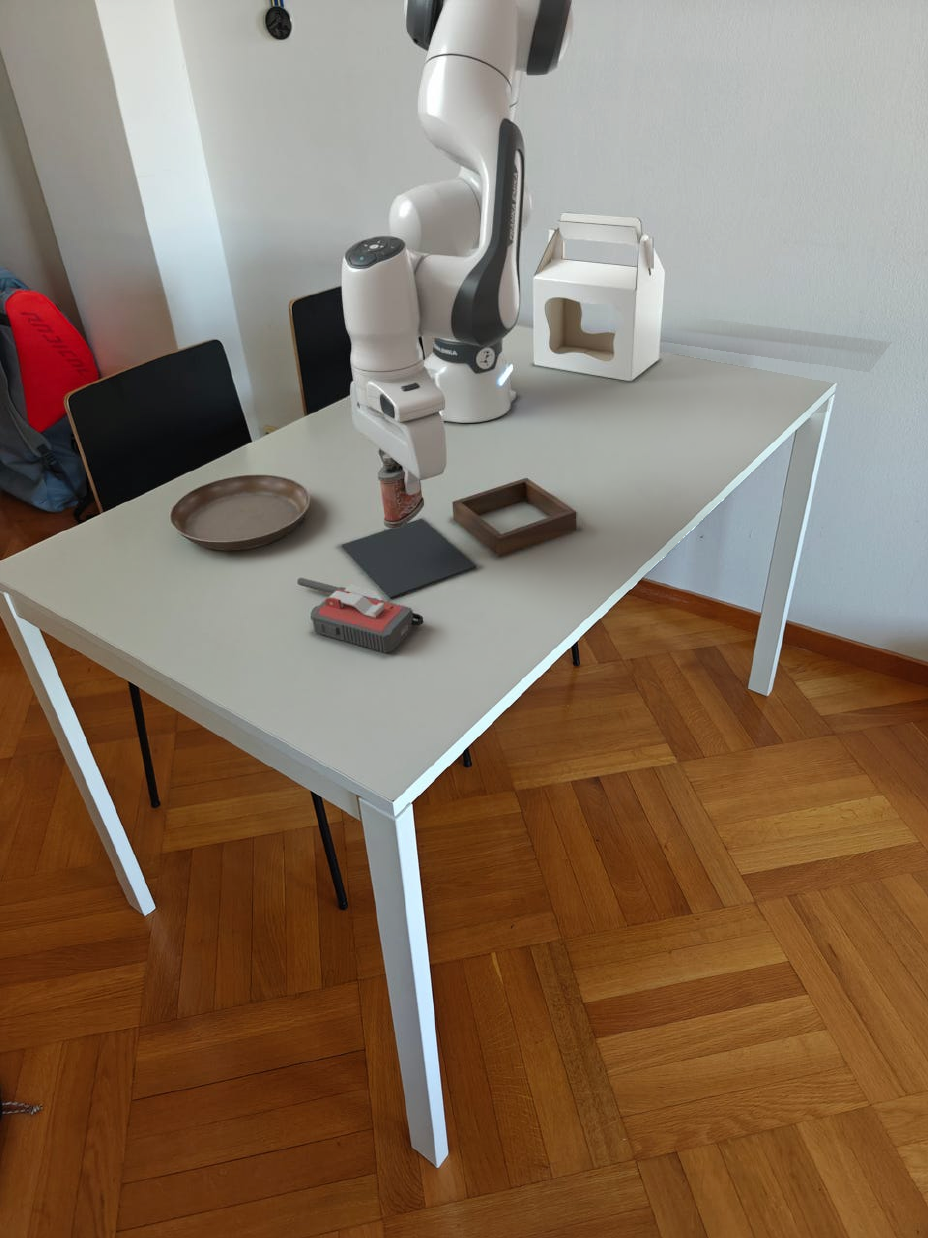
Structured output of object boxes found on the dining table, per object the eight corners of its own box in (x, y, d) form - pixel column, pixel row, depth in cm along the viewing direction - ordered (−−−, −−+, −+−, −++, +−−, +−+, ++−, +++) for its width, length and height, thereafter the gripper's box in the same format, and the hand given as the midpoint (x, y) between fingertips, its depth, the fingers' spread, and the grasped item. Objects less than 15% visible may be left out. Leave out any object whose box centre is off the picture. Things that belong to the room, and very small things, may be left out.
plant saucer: (335, 499, 139) (332, 480, 137) (271, 568, 123) (266, 548, 121) (222, 485, 145) (217, 467, 143) (146, 550, 129) (140, 530, 127)
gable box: (532, 364, 182) (530, 218, 165) (563, 345, 190) (564, 203, 174) (632, 382, 171) (640, 227, 155) (660, 360, 180) (671, 211, 163)
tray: (453, 519, 131) (452, 501, 130) (526, 495, 136) (526, 477, 135) (499, 557, 122) (498, 538, 120) (576, 529, 127) (577, 511, 125)
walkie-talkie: (433, 619, 111) (304, 584, 119) (431, 590, 109) (299, 557, 117) (397, 659, 105) (263, 620, 113) (393, 629, 102) (257, 591, 110)
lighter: (400, 530, 116) (392, 460, 110) (378, 526, 117) (369, 456, 112) (429, 502, 122) (423, 435, 116) (408, 498, 123) (400, 431, 117)
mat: (341, 547, 127) (341, 544, 127) (421, 520, 132) (421, 518, 131) (390, 599, 115) (390, 596, 115) (476, 568, 120) (476, 565, 120)
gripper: (332, 364, 115) (347, 462, 123) (404, 414, 100) (415, 521, 108) (376, 353, 117) (387, 450, 125) (452, 400, 103) (459, 506, 111)
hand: (401, 483), depth 117 cm, fingers closed on lighter, 5 cm apart
